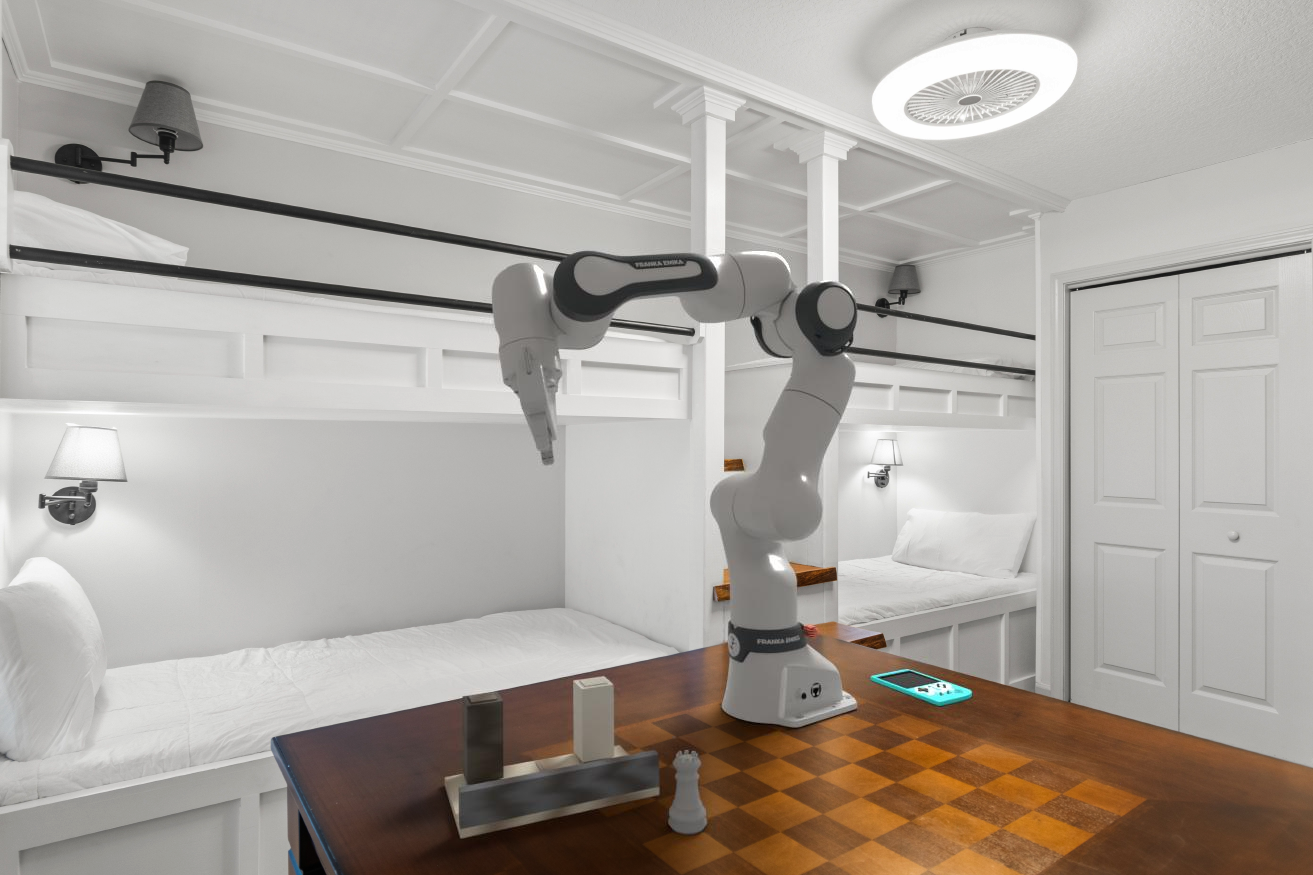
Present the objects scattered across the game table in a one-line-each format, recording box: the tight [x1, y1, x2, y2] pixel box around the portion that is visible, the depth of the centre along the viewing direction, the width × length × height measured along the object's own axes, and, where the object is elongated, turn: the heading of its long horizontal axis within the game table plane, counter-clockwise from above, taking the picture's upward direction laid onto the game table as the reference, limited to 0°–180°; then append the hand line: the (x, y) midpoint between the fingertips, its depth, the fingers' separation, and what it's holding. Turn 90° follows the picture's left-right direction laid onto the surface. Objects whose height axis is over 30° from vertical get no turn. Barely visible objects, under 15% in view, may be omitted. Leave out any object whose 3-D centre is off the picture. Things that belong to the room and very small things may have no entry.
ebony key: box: [461, 690, 505, 785], centre depth 91 cm, size 4×4×10 cm
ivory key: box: [572, 675, 615, 763], centre depth 97 cm, size 4×4×10 cm
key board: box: [444, 744, 660, 839], centre depth 89 cm, size 24×14×5 cm, turn 114°
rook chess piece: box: [667, 749, 708, 836], centre depth 80 cm, size 4×4×8 cm
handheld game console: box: [870, 668, 973, 707], centre depth 127 cm, size 10×16×1 cm, turn 27°
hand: (546, 457), depth 102 cm, fingers open, 8 cm apart
